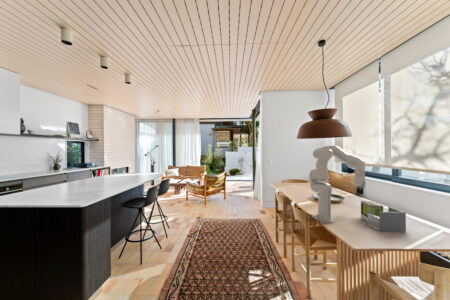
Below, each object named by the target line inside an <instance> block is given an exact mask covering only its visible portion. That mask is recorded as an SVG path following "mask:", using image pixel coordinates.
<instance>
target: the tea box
mask: <svg viewBox="0 0 450 300" xmlns="http://www.w3.org/2000/svg"><path fill="white" fill-rule="evenodd" d="M379 212H384V205H382V204H380V203H377V202H375V201H372V200H371V201H370V200H360V217H361V218H362V219H363V220H365V221H366V222H368V213H371V214H373V215H375V216H377V217H380V216H379Z"/></svg>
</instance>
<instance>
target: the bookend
mask: <svg viewBox="0 0 450 300" xmlns="http://www.w3.org/2000/svg"><path fill="white" fill-rule="evenodd" d="M364 225H365V226H366V227H369V228H370V229H372V230H374V231H375V232H376V231H377V232H381V231H380V217H377V216H375V215H373V214H371V213H368V221H367V223H366V222H365V223H364Z"/></svg>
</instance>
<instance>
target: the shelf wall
mask: <svg viewBox="0 0 450 300" xmlns="http://www.w3.org/2000/svg"><path fill="white" fill-rule="evenodd" d="M379 216H380V231H379V232H386V233H389V232H390V233H406V232H407V219H406V218H407V214H406V211H402V210H400V209H397V208H394V207H392V206H388V211H383V212H379Z"/></svg>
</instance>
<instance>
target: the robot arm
mask: <svg viewBox="0 0 450 300" xmlns="http://www.w3.org/2000/svg"><path fill="white" fill-rule="evenodd" d="M312 156H313V157H314V158H315V159H317V160H316V163H315V168H314V169H312V170H310V171H309V174H308V176H309V185H310V189H311V191H313V192H315V193H319V196H318V197H317V211H318V212H317V213H316V215H315V214H312V215H311V217H312V218H314V219H316V221H318V222H320V223H325V224H331V223H333V222H334V219H333V218H332V202H331V201H332V199H331V198H332V197H331V196H332V192H333V187H332V185H331V184H330V183H327V181H328V180H329V171H328V170H329V169H328V168H329V167H328V163H329V161H330V159H332V157H334V158H335V159H337V160H339V161H340V162H343V163H345V165H346V167H347V168H349V169H354V176H353V185H354V186H355V187H356V189H355V190H356V194H358V195H364V190H365V189H366V161H365V160H364V159H362V158H360V157H359V156H357V155H353V154H352V153H348V152H347V151H345V150H344V149H342V148H340V146H338V145H326V146H325V145H324V146H322V147H319V148H317V149H314V150H313V152H312Z"/></svg>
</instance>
